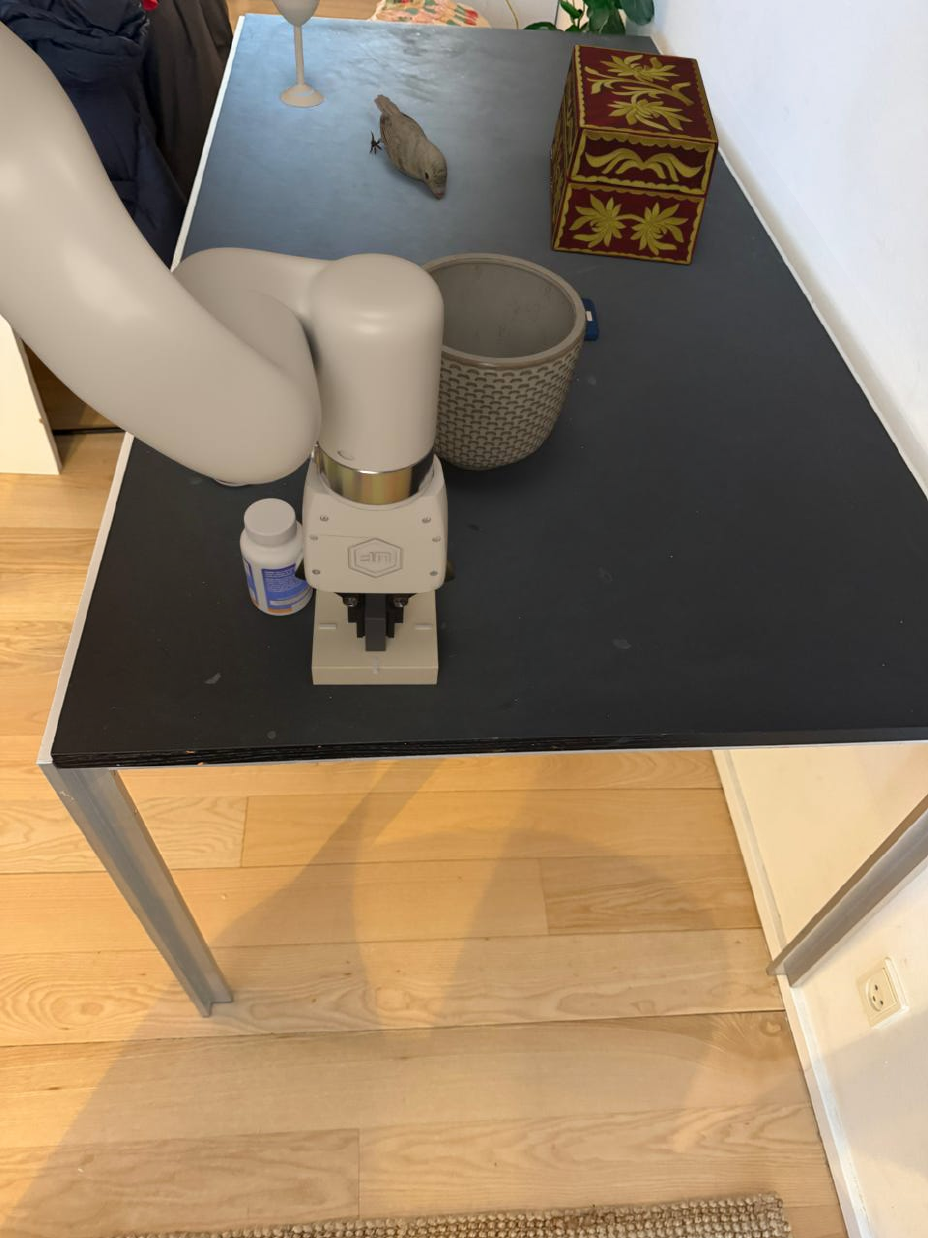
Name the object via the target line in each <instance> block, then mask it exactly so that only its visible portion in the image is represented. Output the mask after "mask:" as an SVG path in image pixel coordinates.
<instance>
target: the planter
mask: <svg viewBox="0 0 928 1238" xmlns="http://www.w3.org/2000/svg"><path fill="white" fill-rule="evenodd" d="M419 267H421V268H422V269H424V270H425V271H426V272H427V273H428V274H430V275H431V277H432V278H433V279H434V281H435V282H436V284H437V285H438V287H439V290H440V292H441V295H442V298H443V303H444V327H443V340H442V353H441V367H440V380H439V394H438V408H437V423H436V438H435V451H434V454H435V455H436V456H437V457H438V458H440V459H443V460H444V461H446V462H447V463H449V464H451V465H453V466H455V467H456V468H460V469H464V470H467V471H468V470H469V471H475V472H477V471H481V472H483V471H489V470H493V469H497V468H500V467H503V466H507V465H511V464H514V463H516V462H519V461H521V460H523V459H525V458H526V457H528V456H530V455H532V454H533V453H534V452H536V451H537V450H538V449H539V448H540V447H541V446H542V445H543V443H544V442H545V441H546V440H547V439H548V437H549V436H550V435H551V433H552V432H553V429H554V427H555V424H556V423H557V421H558V419H559V417H560V414H561V412H562V409H563V406H564V404H565V401H566V399H567V396H568V393H569V390H570V387H571V385H572V382H573V378H574V374H575V371H576V368H577V364H578V362H579V358H580V355H581V352H582V349H583V344H584V342H585V339H584V337H585V332H586V322H587V321H586V310H585V307H584V304H583V302H582V300H581V296H580V295H579V293H578V292H577V291H576V290H575V289H574V287H573V286H572V285H571V284H570V283H568V282H567V281H566V280H565V279H564V278H563V277H561V276H560V275H558V274H557V273H555V272H553V271H552V270H550V269H548V268H546V267H544V266H541V265H539V264H537V263H535V262H532V261H529V260H526V259H522V258H519V257H517V256H516V257H515V256H510V255H505V254H498V253H490V252H467V253H457V254H451V255H445V256H441V257H439V258H435V259H433V260H430V261H427V262H425V263H423V264H422V265H419Z"/></svg>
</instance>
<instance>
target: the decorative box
mask: <svg viewBox="0 0 928 1238" xmlns="http://www.w3.org/2000/svg"><path fill="white" fill-rule="evenodd" d="M716 128H717V127H716V124H715V121H714V118H713V114H712V110H711V107H710V103H709V99H708V95H707V91H706V88H705V84H704V80H703V77H702V73H701V70H700V65H699V62H698V60H697V59H696V58H694V57H687V56H678V55H669V54H660V53H653V52H643V51H636V50H635V51H634V50H627V49H620V48H619V49H617V48H609V47H601V46H595V45H594V46H593V45H584V44H574V46H573V49H572V53H571V57H570V60H569V66H568V70H567V74H566V79H565V84H564V89H563V95H562V97H561V102H560V106H559V111H558V115H557V119H556V124H555V129H554V133H553V137H552V142H551V145H550V146H551V148H552V155H551V150H550V153H549V154H550V161H549V162H550V163H549V165H550V186H551V185H552V188H551V187H550V236H551V238H550V239H551V241H550V242H551V250H553V251H560V252H567V253H568V252H569V253H577V254H584V255H585V254H586V255H595V256H605V257H613V258H623V259H632V260H640V261H649V262H650V261H651V262H657V263H658V262H659V263H669V264H677V265H685V266H686V265H692V262H693V258H694V255H695V254H694V253H695V249H696V245H697V241H698V236H699V233H700V229H701V225H702V218H703V216H704V212H705V211H704V210H705V207H706V202H707V196H708V193H709V190H710V186H711V182H712V178H713V174H714V169H715V164H716V160H717V157H718V156H717V155H718V150H719V145H720V141H719V140H720V139H719V137H718V132H717V129H716ZM551 148H550V149H551ZM551 156H552V159H551ZM551 177H552V178H551ZM551 182H552V183H551ZM551 190H552V191H551Z"/></svg>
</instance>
